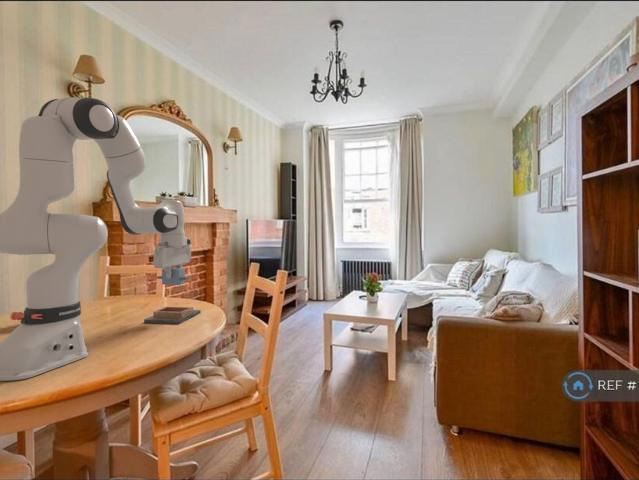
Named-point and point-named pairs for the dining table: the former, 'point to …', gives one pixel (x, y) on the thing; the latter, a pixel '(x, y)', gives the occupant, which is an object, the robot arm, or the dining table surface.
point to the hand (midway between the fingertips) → (173, 276)
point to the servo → (174, 277)
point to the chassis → (172, 315)
